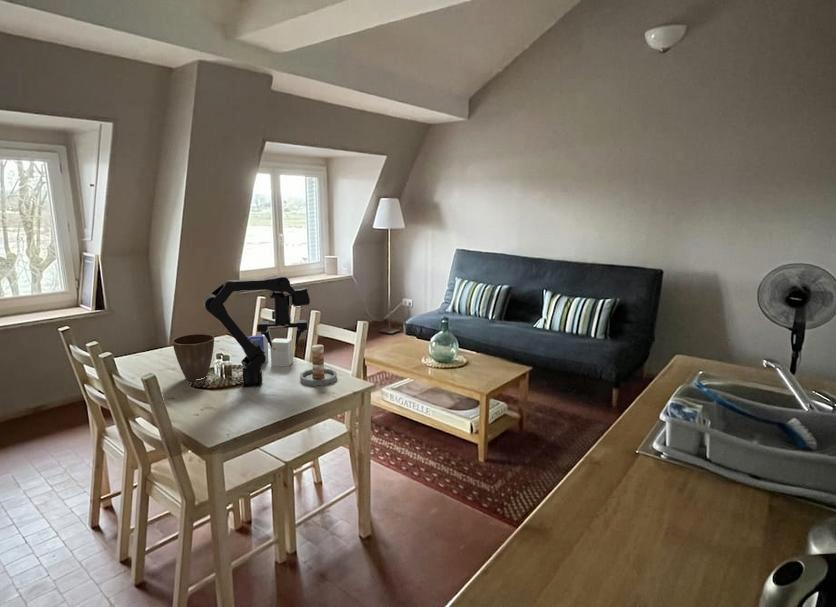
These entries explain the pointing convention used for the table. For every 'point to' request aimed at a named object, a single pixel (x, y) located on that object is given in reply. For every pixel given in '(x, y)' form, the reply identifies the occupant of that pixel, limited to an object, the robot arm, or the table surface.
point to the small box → (281, 352)
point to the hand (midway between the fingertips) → (283, 346)
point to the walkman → (260, 343)
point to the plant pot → (194, 354)
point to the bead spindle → (318, 362)
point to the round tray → (307, 379)
